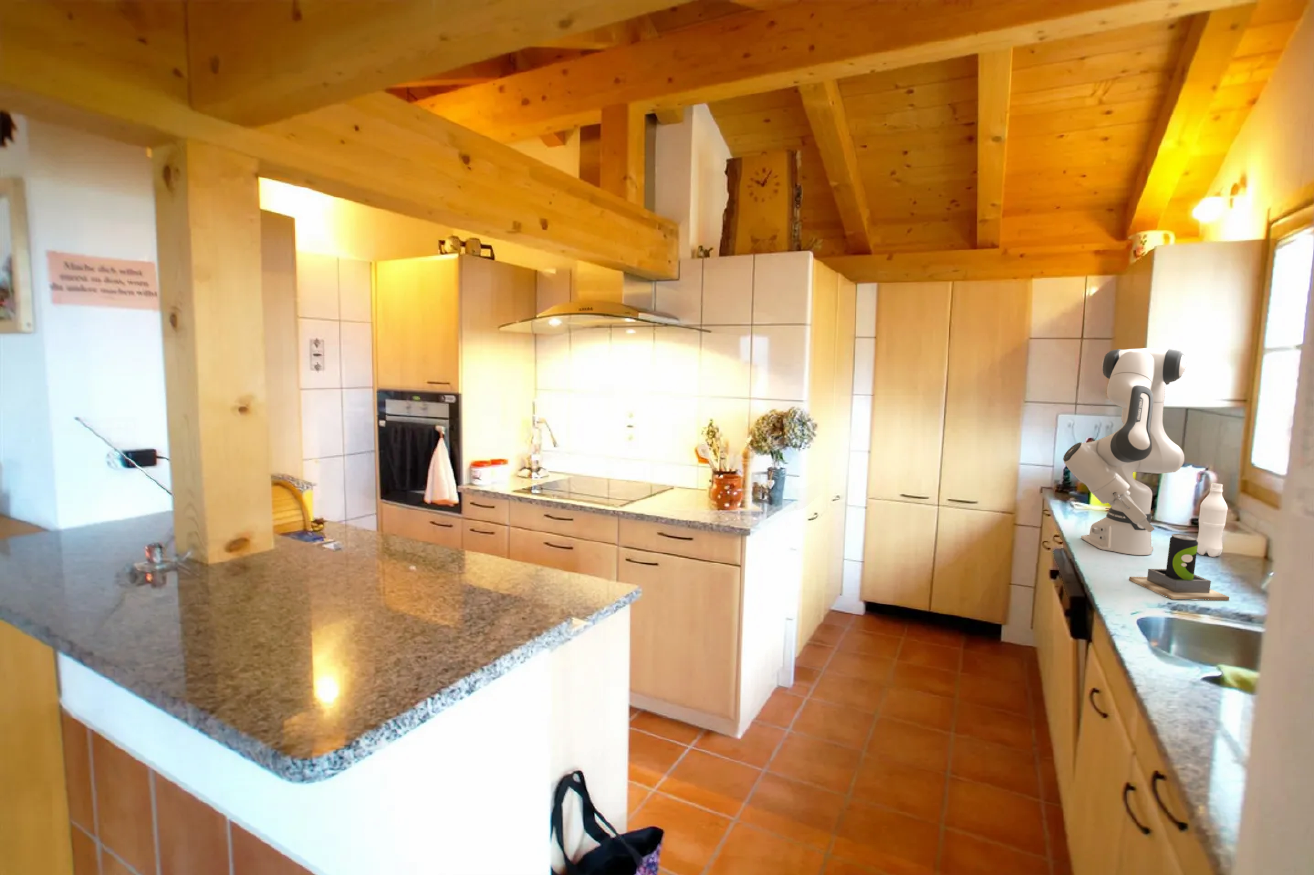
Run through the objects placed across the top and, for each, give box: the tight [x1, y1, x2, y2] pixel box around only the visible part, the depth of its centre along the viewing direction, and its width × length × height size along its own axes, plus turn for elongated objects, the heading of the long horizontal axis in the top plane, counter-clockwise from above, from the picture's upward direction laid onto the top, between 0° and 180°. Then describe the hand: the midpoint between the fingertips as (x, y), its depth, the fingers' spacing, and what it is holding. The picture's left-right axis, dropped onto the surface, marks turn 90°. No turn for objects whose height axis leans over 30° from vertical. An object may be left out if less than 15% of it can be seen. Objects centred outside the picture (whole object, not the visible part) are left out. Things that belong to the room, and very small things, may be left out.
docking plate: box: [1128, 576, 1230, 601], centre depth 184 cm, size 16×16×1 cm
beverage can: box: [1165, 533, 1198, 580], centre depth 183 cm, size 6×6×15 cm
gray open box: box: [1146, 568, 1212, 593], centre depth 183 cm, size 10×10×4 cm
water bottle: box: [1196, 482, 1229, 558], centre depth 217 cm, size 7×7×25 cm
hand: (1148, 526), depth 186 cm, fingers open, 8 cm apart
